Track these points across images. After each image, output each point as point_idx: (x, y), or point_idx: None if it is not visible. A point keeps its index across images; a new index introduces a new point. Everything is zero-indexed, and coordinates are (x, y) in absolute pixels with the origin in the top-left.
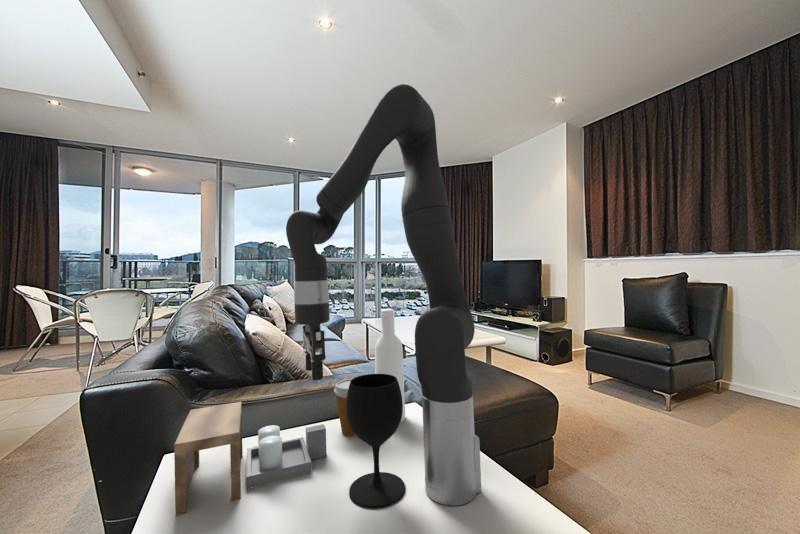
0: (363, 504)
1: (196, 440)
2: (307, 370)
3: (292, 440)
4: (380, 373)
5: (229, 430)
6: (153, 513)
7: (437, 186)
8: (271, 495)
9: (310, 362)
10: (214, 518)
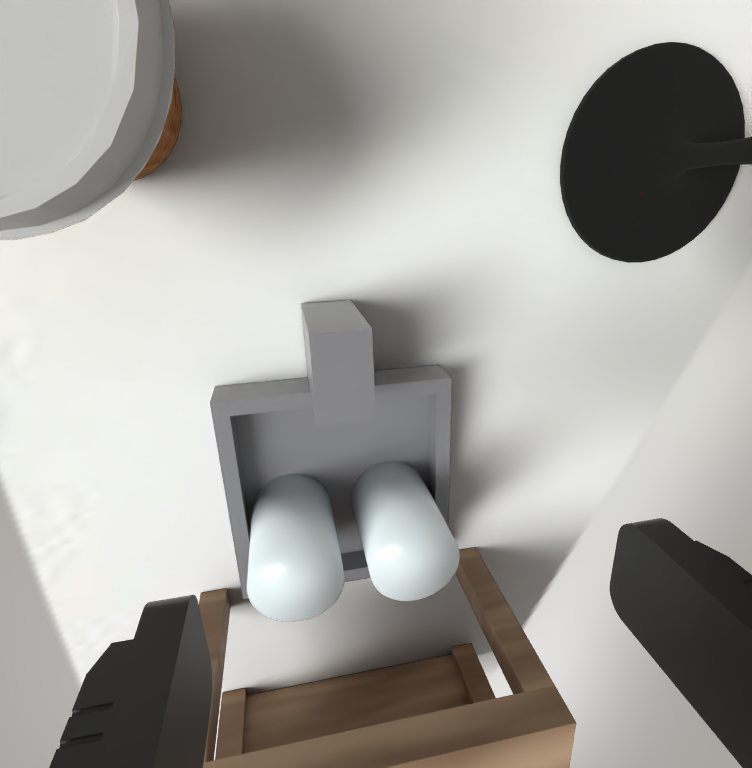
0: (699, 231)
1: None
2: (209, 672)
3: (229, 446)
4: None
5: (538, 756)
6: None
7: None
8: (501, 476)
9: (188, 745)
10: (524, 583)
